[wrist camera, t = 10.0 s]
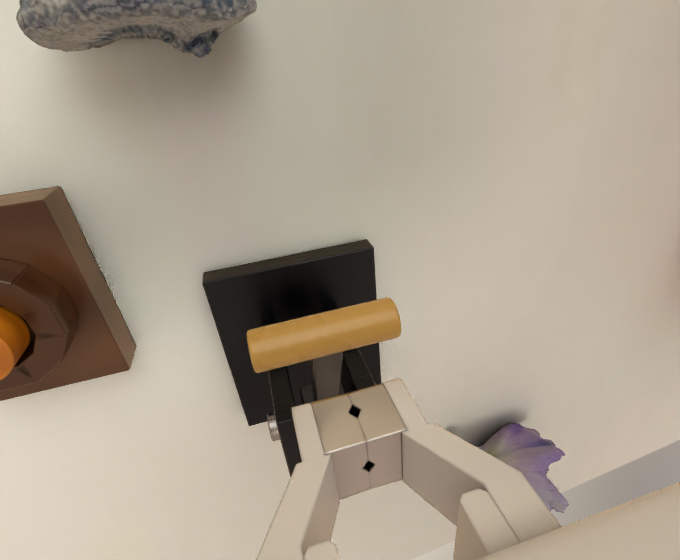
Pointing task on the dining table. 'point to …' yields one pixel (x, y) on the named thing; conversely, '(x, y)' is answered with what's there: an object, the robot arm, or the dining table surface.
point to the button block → (56, 297)
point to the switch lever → (323, 342)
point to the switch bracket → (282, 305)
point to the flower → (528, 459)
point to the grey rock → (130, 22)
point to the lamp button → (11, 340)
